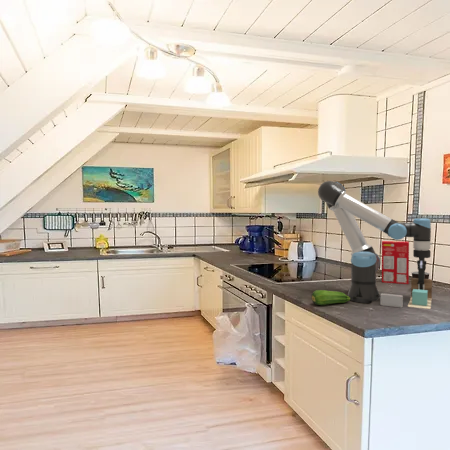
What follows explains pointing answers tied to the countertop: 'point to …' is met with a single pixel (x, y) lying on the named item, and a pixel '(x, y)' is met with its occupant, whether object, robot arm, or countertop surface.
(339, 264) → the countertop surface
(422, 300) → the teal block
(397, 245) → the food packaging
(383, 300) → the gray rectangular block
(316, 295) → the vegetable
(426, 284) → the wooden l-shaped stand
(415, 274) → the coffee mug
